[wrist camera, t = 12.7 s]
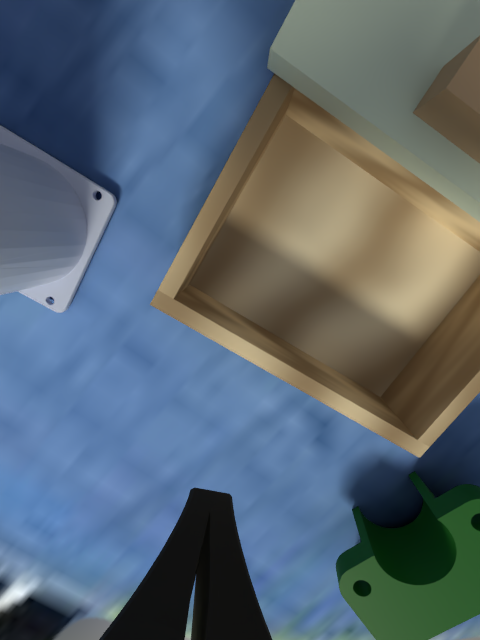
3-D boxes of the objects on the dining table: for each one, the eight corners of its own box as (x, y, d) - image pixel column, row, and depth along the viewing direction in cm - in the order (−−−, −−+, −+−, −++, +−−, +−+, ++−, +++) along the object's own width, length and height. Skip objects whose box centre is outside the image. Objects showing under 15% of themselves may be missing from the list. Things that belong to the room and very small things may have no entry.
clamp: (401, 436, 27) (505, 468, 18) (446, 491, 26) (574, 551, 17) (304, 541, 24) (369, 639, 15) (352, 603, 24) (447, 740, 15)
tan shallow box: (173, 287, 19) (149, 304, 14) (335, -6, 15) (380, -124, 10) (378, 406, 21) (419, 457, 16) (567, 177, 17) (696, 153, 12)
